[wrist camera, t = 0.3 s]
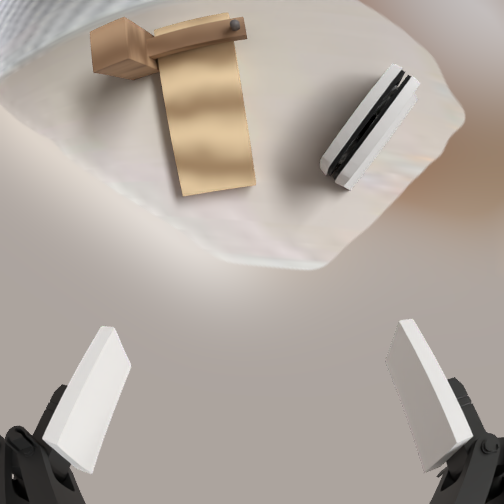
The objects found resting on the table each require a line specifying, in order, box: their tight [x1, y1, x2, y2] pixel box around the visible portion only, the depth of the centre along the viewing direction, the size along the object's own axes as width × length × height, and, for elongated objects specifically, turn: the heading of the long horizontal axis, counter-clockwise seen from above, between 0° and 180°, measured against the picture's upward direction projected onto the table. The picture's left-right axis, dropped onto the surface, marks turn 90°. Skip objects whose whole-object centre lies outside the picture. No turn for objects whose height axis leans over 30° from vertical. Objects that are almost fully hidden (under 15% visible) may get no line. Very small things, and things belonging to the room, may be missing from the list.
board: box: [154, 13, 256, 196], centre depth 30 cm, size 22×9×2 cm, turn 8°
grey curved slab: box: [320, 64, 420, 191], centre depth 28 cm, size 17×5×10 cm, turn 146°
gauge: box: [90, 17, 247, 80], centre depth 23 cm, size 5×15×10 cm, turn 98°
